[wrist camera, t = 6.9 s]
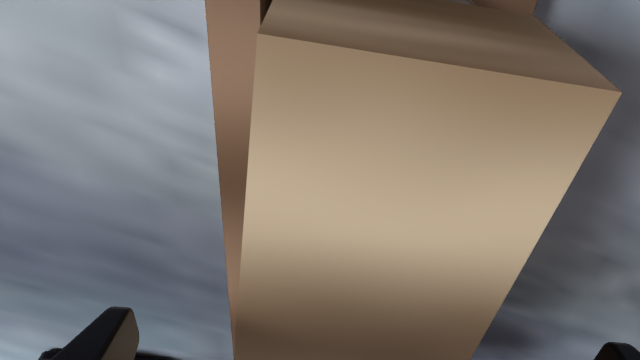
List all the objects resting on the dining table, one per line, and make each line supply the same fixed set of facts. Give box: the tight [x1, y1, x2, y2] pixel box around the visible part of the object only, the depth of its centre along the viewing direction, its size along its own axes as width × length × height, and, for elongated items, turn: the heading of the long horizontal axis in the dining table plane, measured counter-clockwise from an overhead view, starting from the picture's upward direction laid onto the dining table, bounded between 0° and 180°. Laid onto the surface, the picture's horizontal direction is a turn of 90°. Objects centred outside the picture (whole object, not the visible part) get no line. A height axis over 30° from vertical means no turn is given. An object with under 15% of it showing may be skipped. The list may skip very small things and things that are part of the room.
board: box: [234, 0, 622, 360], centre depth 11 cm, size 12×5×4 cm, turn 171°
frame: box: [205, 0, 537, 356], centre depth 13 cm, size 19×8×6 cm, turn 177°
